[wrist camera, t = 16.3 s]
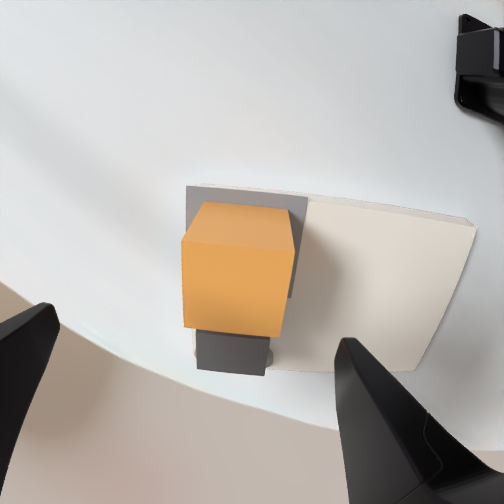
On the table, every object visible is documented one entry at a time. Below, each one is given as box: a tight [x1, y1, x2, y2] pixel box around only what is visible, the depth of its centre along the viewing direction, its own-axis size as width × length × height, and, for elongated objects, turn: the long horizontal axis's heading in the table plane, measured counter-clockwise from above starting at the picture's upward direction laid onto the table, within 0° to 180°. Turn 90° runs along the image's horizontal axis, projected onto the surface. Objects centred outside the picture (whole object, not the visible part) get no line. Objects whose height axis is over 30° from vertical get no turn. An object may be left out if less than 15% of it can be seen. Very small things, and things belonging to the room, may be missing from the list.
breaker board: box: [186, 183, 477, 372], centre depth 20 cm, size 18×13×2 cm
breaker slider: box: [195, 329, 270, 376], centre depth 19 cm, size 4×3×4 cm
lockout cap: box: [181, 201, 295, 338], centre depth 16 cm, size 4×4×5 cm
